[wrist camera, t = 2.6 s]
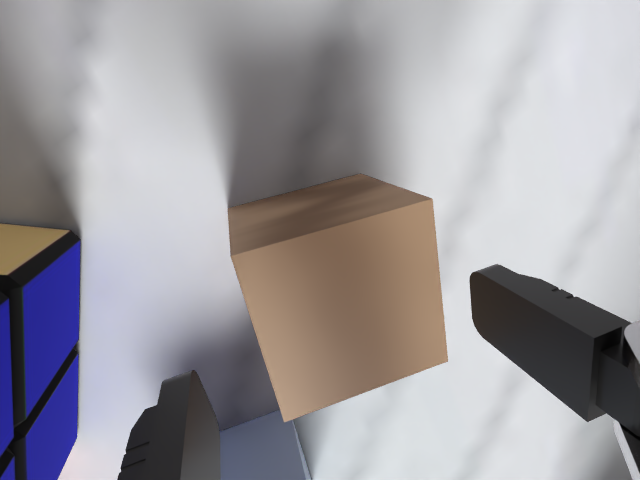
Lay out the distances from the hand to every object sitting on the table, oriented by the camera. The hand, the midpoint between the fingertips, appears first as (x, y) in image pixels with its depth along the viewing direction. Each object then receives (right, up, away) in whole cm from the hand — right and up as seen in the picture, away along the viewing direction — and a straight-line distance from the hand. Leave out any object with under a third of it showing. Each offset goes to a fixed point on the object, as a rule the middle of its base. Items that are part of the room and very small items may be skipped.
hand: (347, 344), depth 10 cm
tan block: (-1, +2, +7) cm, 7 cm away
